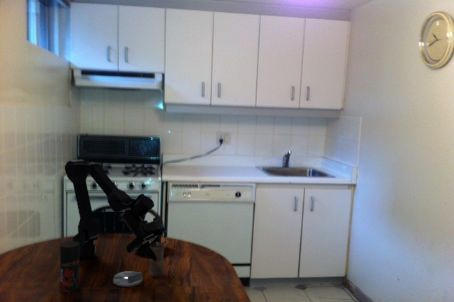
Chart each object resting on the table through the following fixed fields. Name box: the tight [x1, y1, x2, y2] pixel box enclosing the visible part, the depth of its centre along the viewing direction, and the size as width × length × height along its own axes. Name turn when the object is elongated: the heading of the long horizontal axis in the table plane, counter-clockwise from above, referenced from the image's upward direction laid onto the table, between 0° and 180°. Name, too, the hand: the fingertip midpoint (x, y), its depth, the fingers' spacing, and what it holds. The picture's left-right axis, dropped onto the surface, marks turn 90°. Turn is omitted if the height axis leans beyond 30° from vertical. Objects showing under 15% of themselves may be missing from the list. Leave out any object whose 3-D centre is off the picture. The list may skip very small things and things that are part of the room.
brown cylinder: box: [149, 242, 165, 278], centre depth 141 cm, size 5×5×12 cm
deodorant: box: [59, 240, 80, 293], centre depth 127 cm, size 6×6×15 cm
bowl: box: [113, 270, 144, 288], centre depth 135 cm, size 10×10×4 cm
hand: (160, 257), depth 141 cm, fingers closed on brown cylinder, 5 cm apart
